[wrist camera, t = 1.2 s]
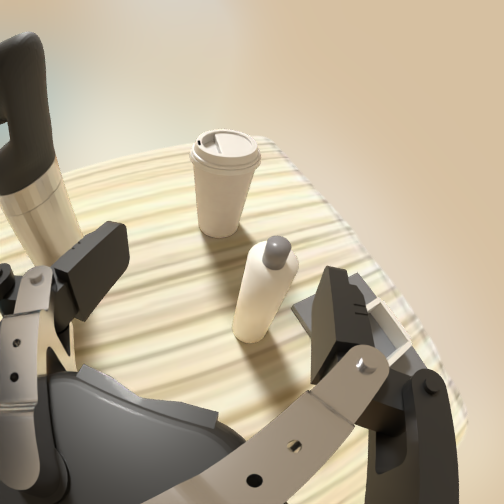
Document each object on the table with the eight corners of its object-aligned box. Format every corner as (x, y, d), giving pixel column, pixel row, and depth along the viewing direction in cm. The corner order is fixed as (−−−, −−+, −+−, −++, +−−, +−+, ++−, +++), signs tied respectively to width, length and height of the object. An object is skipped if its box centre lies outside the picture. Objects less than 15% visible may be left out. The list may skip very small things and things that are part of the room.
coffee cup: (197, 200, 47) (201, 123, 36) (250, 209, 48) (266, 133, 36) (181, 239, 41) (179, 154, 30) (243, 250, 41) (260, 167, 30)
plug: (226, 319, 34) (241, 233, 22) (255, 307, 36) (286, 219, 24) (242, 348, 32) (269, 275, 20) (272, 334, 34) (316, 257, 21)
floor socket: (291, 308, 36) (299, 293, 33) (354, 275, 42) (365, 260, 39) (370, 427, 26) (387, 423, 23) (424, 373, 32) (441, 364, 29)
